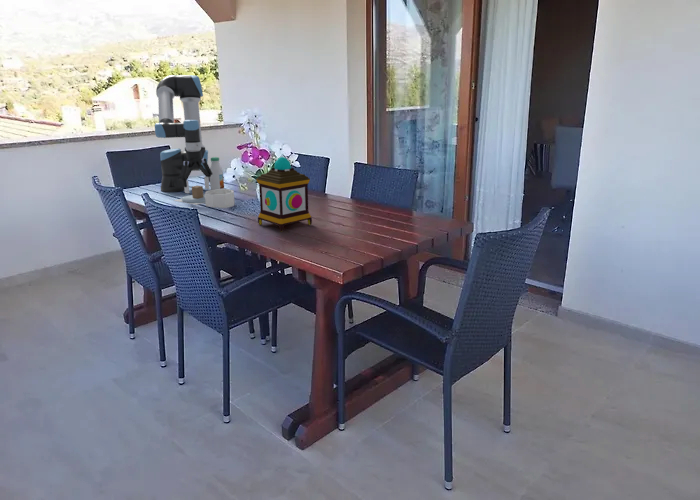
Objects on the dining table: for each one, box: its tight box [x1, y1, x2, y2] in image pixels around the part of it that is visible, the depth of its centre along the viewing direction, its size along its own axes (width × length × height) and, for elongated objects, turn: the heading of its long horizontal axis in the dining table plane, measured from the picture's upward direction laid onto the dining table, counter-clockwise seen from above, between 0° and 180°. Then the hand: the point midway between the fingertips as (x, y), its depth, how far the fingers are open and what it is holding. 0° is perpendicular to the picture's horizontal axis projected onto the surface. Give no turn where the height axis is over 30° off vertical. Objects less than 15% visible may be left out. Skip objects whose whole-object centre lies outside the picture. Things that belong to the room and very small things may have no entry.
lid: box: [181, 185, 205, 204], centre depth 269 cm, size 17×17×7 cm
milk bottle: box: [209, 156, 225, 190], centre depth 286 cm, size 8×8×20 cm
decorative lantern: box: [255, 156, 313, 233], centre depth 220 cm, size 20×20×30 cm
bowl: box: [204, 188, 235, 209], centre depth 259 cm, size 14×14×7 cm
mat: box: [173, 198, 206, 206], centre depth 270 cm, size 18×18×1 cm
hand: (197, 190), depth 268 cm, fingers open, 13 cm apart
